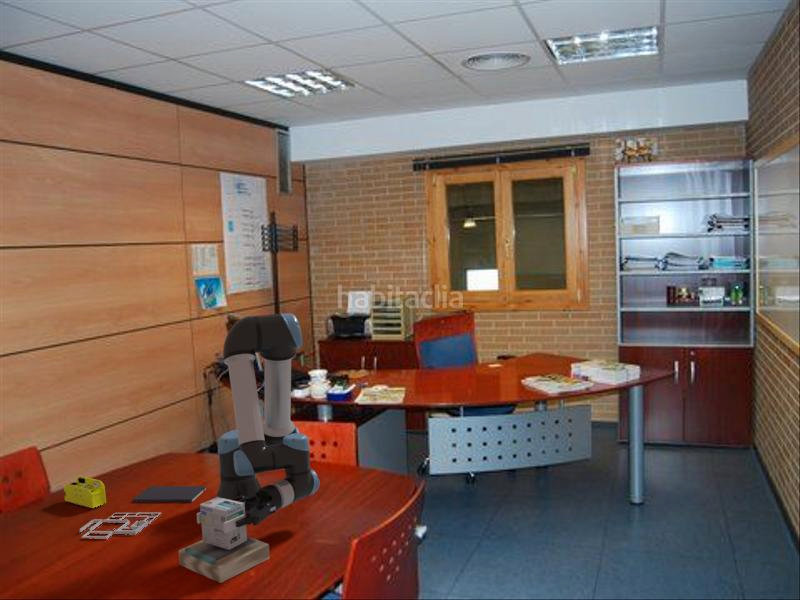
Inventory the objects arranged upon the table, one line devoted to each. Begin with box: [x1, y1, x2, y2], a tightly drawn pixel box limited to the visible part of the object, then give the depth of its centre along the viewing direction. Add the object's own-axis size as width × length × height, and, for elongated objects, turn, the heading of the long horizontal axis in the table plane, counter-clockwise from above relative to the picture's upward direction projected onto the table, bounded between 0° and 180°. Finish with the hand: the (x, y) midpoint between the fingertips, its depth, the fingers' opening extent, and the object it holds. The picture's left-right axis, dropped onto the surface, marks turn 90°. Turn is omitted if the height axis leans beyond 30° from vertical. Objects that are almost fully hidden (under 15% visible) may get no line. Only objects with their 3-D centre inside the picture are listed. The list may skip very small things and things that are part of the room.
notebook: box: [132, 485, 207, 503], centre depth 236 cm, size 13×2×21 cm
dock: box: [178, 535, 271, 584], centre depth 183 cm, size 18×16×5 cm
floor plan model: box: [79, 511, 162, 540], centre depth 207 cm, size 19×25×2 cm
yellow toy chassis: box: [63, 475, 107, 509], centre depth 231 cm, size 16×6×8 cm, turn 58°
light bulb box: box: [199, 496, 248, 550], centre depth 182 cm, size 11×7×11 cm, turn 57°
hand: (210, 523), depth 179 cm, fingers open, 11 cm apart
